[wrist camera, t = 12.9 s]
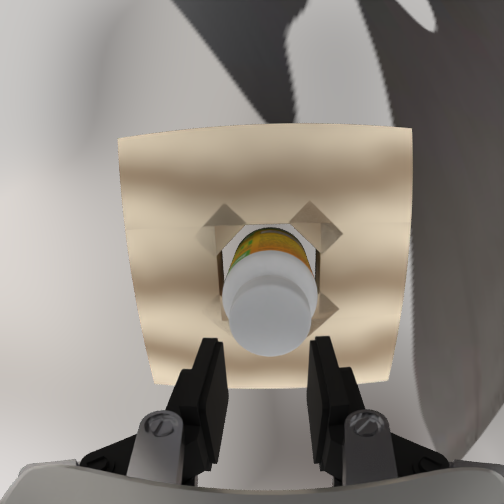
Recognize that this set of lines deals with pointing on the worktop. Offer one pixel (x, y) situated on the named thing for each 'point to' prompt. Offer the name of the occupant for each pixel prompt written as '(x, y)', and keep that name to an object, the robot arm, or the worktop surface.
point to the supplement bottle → (270, 293)
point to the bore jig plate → (269, 212)
